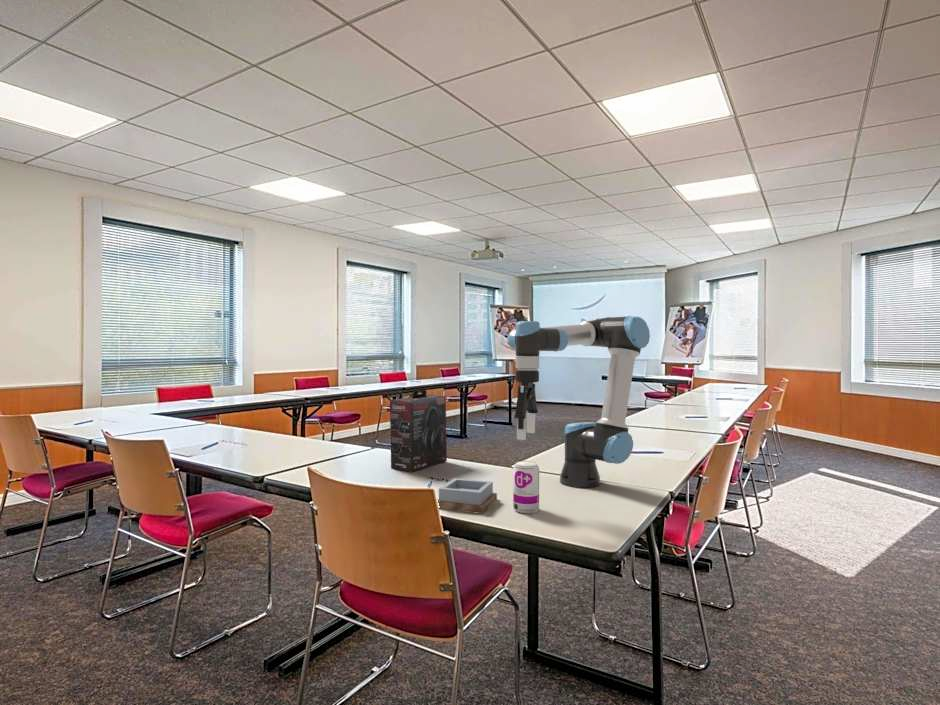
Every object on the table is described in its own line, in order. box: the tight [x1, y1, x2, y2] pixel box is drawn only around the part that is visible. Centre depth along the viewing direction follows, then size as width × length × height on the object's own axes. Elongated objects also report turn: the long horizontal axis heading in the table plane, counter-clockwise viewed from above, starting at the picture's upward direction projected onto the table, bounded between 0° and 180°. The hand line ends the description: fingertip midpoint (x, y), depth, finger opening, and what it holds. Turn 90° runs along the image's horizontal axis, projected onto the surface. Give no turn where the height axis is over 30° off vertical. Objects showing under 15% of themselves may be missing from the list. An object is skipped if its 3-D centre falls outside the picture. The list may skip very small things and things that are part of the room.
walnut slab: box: [437, 492, 498, 514], centre depth 174 cm, size 16×16×3 cm
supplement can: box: [512, 460, 540, 514], centre depth 168 cm, size 8×8×15 cm
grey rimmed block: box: [438, 477, 494, 505], centre depth 174 cm, size 14×14×4 cm
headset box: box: [389, 388, 448, 473], centre depth 229 cm, size 24×13×33 cm, turn 145°
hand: (526, 436), depth 167 cm, fingers open, 13 cm apart
